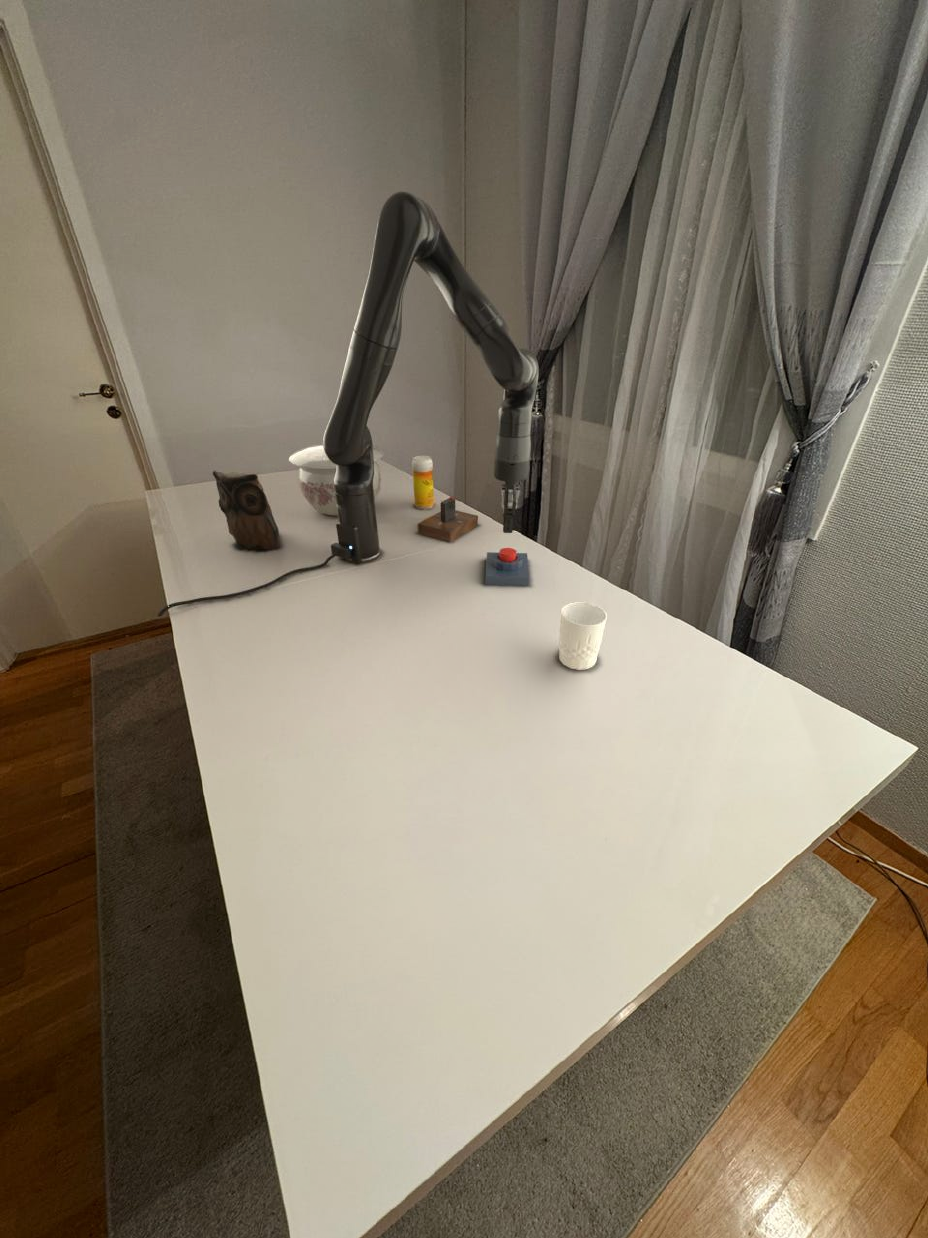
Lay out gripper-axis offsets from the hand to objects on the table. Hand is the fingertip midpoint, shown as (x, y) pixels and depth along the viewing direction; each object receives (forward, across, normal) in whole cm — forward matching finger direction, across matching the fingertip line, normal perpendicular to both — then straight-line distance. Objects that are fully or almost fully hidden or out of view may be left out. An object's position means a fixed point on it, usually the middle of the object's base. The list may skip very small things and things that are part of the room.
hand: (507, 531), depth 119 cm
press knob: (+7, 0, 0) cm, 7 cm away
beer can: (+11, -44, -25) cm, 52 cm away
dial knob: (+8, -26, -16) cm, 31 cm away
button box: (+11, 0, 0) cm, 11 cm away
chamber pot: (+12, -41, -50) cm, 66 cm away
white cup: (+11, +34, +13) cm, 38 cm away
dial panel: (+11, -26, -16) cm, 32 cm away
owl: (+12, -14, -66) cm, 68 cm away
